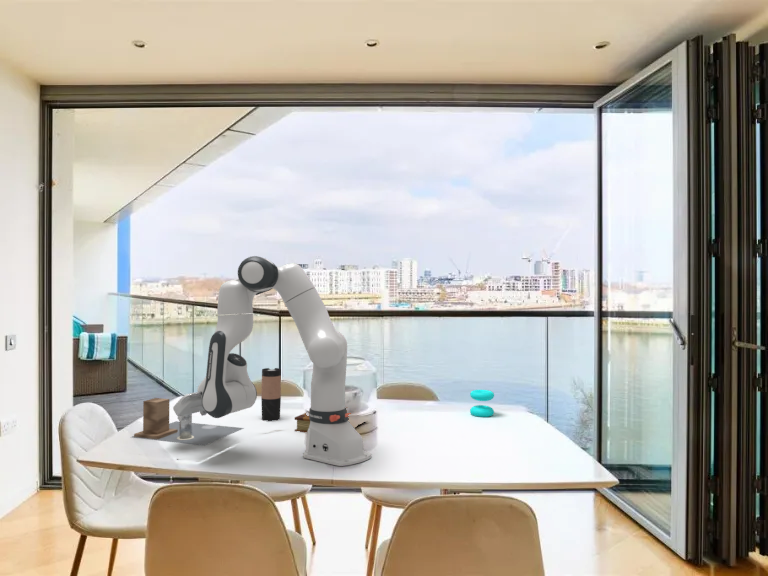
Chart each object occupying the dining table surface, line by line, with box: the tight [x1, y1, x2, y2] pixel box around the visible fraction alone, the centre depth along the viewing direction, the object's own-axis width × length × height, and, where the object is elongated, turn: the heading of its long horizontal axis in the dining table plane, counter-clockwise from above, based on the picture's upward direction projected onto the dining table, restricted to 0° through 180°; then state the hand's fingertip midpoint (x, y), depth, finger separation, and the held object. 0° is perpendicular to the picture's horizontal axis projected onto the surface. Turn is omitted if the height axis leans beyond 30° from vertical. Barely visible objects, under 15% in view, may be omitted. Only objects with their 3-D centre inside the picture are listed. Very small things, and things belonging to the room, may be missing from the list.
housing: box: [133, 397, 178, 439], centre depth 194 cm, size 10×10×12 cm
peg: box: [179, 413, 193, 439], centre depth 190 cm, size 4×4×10 cm
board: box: [131, 420, 245, 447], centre depth 196 cm, size 30×24×1 cm
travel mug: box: [260, 367, 282, 422], centre depth 222 cm, size 8×8×20 cm
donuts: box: [469, 389, 495, 418], centre depth 233 cm, size 10×10×10 cm
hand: (191, 416), depth 188 cm, fingers open, 8 cm apart
